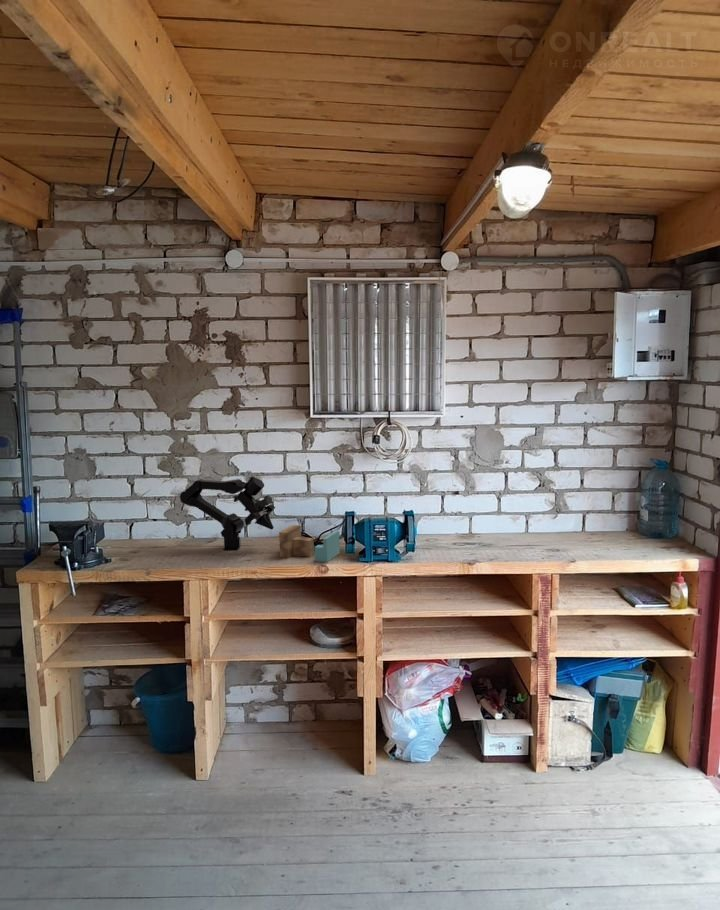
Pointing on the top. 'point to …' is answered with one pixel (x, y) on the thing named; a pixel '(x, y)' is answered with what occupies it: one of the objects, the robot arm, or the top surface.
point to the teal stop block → (328, 548)
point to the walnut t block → (295, 543)
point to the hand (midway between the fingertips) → (272, 528)
